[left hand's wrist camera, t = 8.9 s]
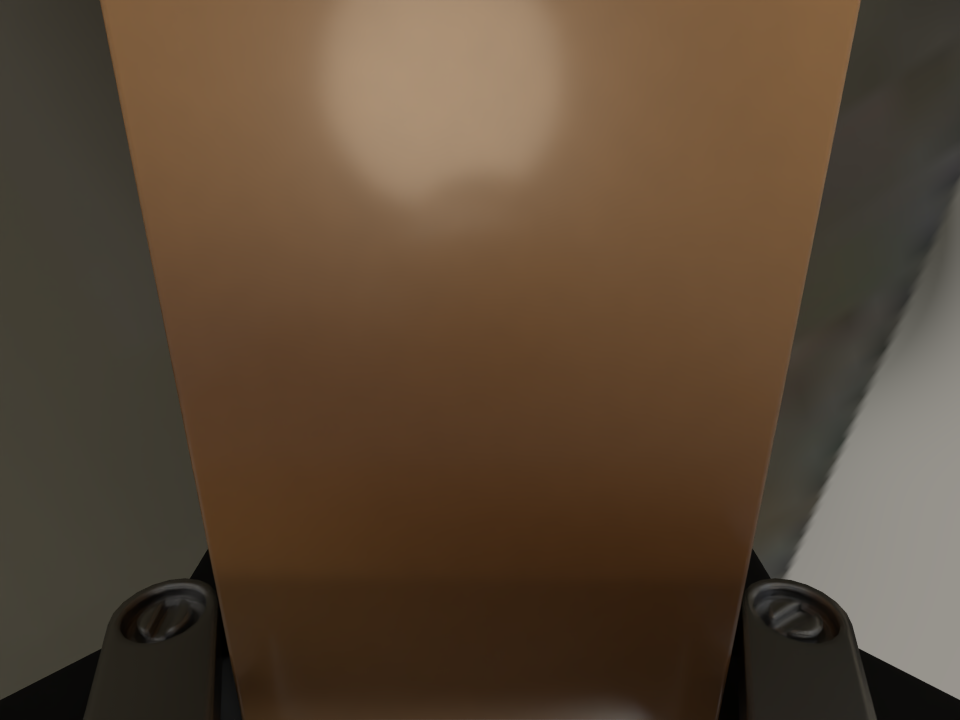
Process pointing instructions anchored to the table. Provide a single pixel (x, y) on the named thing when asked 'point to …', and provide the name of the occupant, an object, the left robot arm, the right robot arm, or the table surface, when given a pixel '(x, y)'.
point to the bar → (480, 332)
